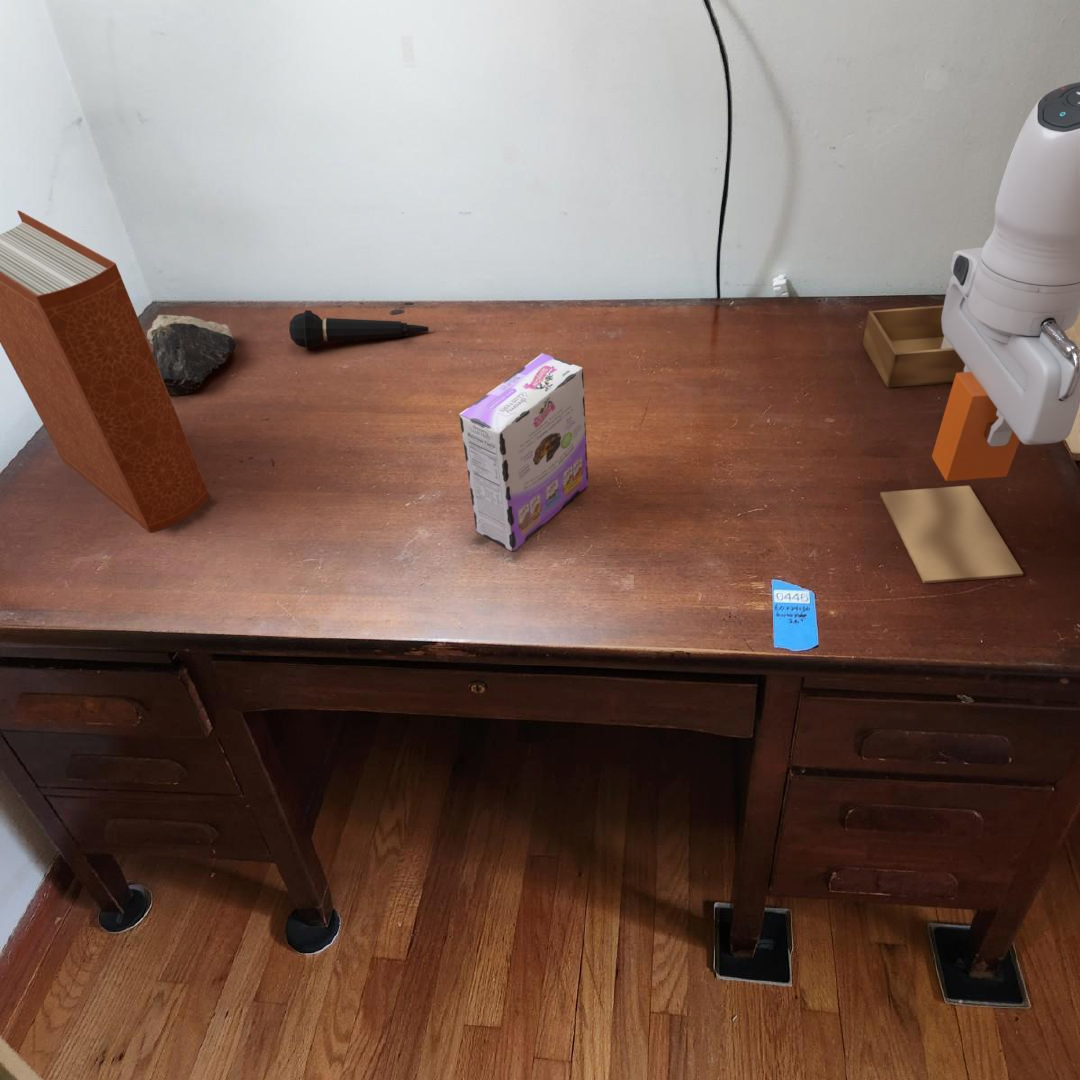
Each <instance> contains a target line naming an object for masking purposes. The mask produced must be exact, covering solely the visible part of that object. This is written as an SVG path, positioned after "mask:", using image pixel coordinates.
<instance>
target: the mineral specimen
mask: <svg viewBox="0 0 1080 1080" xmlns="http://www.w3.org/2000/svg"><path fill="white" fill-rule="evenodd" d="M146 339H147V340H149V343H150V344H152V354H153V357H154V359H155V361H156V364H157V366H158V369H159V371H160V374H161V376H162V379H163V381H164V384H165V386H166V389H167V391H168V393H169V395H171V396H172V395H173V396H177V397H178V396H183V395H187V394H192V393H193V392H194V391H196V390H197V389H199V388H200V386H202V384H203V383H204V381H205V379H206V378H207V376H208V375H210V374H212V373H213V370H216V369H217V370H219V366H223V365H225V363H227V361H228V358H229V356H230V355H231V354H232V353H233V352H234V351H235V350H236V348H237V347H238V344H237V343H236V342H235V340H234V337H233V334H232V331H231V329H230V328H229V326H228V325H227V324H222V323H221V324H220V323H219V322H216V321H209V320H208V321H205V320H203V319H202V318H199V317H195V316H192V315H177V314H158V315H157V317H156V318H154V320H153V321H152V324H151V327H150V328H149V329H147V332H146Z"/></svg>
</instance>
